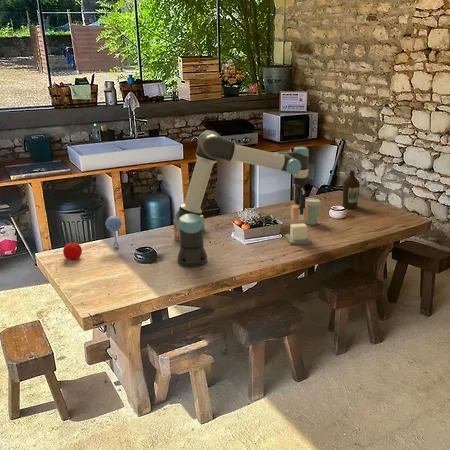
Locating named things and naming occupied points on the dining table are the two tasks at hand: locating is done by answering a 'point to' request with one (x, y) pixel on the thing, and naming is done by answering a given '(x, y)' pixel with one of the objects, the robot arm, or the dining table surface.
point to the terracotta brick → (296, 212)
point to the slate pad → (301, 241)
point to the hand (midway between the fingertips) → (299, 217)
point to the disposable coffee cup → (312, 210)
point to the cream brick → (298, 231)
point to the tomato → (72, 251)
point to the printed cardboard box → (176, 232)
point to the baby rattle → (114, 226)
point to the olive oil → (350, 191)
